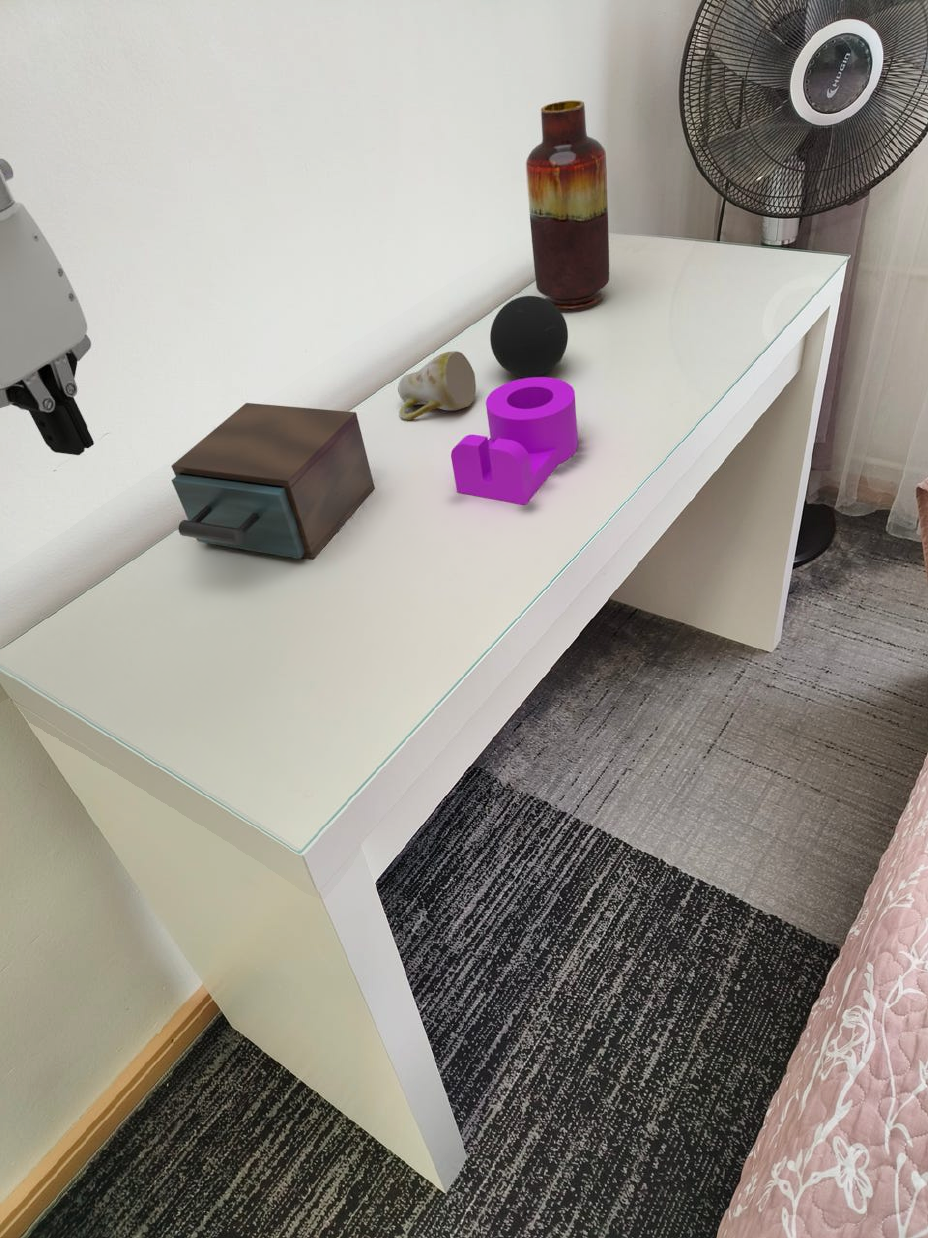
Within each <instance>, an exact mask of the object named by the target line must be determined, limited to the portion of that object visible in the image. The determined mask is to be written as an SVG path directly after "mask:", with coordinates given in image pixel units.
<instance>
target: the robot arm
mask: <svg viewBox="0 0 928 1238" xmlns="http://www.w3.org/2000/svg"><path fill="white" fill-rule="evenodd" d="M13 178H14V170H13V168H12V166H11V165H10V163H9V162H8V161H7V160H6V159H4V158H0V409H2V408H6V407H8V406H10V405H11V406H14V407H16V408H18V409H20V410H22V411H28V412H29V415H30V416H31V418H32V420H33V422H34V424H35V426H36V428H37V430H38V431H39V433H40V436H41V437H42V439H43V441H44V443H45V444H46V445H47V447H49V448H50V450H51V451H52V452H54V453H57V454H64V455H71V456H72V455H73V456H80V455H82V454H83V453H84V452H85V449H89V448H91V447H93V446H94V444H95V442H94V440H93V437H92V436H91V435H92V434H91V433H90V431H89V429H88V425H87V422H86V420H85V418H84V416H83V414H82V412H81V409H80V408H79V406H78V404H77V402H76V400H75V398H74V397H76V395H77V394H78V386H77V383H76V380H75V378H76V372H77V366H78V362H80V361H81V360H82V359H83V357H84V356H85V355H86V354H87V353H88V352H89V351H90V350H91V348H92V342H91V339H90V338H89V336H88V335H87V332H88V324H87V319H86V316H85V314H84V311H83V308H82V306H81V303H80V300H79V299H78V297H77V294H76V292H75V290H74V288H73V286H72V283H71V282H70V280H69V277H68V275H67V274H66V272H65V270H64V268H63V266H62V264H61V263H60V261H59V259H58V257H57V255H56V254H55V251H54V250H53V248H52V246H51V245H50V243H49V241H48V239H46V236H45V235H44V233H43V232H42V230H41V228H40V227H39V226H38V224H37V222H36V221H35V219H34V218H33V217H32V215H31V213H30V212H29V211H28V209H27V208H26V207H25V205H24V204H23V203H21V202H16V200H15V198H14V196H13V194H12V192H11V189H10V187H9V185H8V183H7V182H8V181H10V180H12V179H13Z"/></svg>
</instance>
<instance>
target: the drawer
mask: <svg viewBox="0 0 928 1238" xmlns="http://www.w3.org/2000/svg"><path fill="white" fill-rule="evenodd" d="M235 481H236V480H230V479H222V478H215V477H207V476H199V475H195V477H194V476H187V475H177V476H174V478H172V479H171V483H172V485H173V489H174V490H175V492H176V495H177V497H178V499H179V501H180V503H181V507H182V508H183V511H184V513H185V516H186V518H187V519H183V520H181V521H180V523H179V524H178V529H177V530H178V533H179V535H180V536H182V537H188V538H194V539H196V542H199V543H204V544H210V545H215V546H223V547H229V548H234V549H239V550H240V549H241V550H245V551H251V552H256V553H262V554H263V553H264V554H270V555H275V556H282V557H286V558H292V559H297V560H298V559H299V560H300V559H301V558H302V556H303V555H304V554H305V553H306V551H305V548H304V545H303V542H302V539H301V536H300V533H299V530H298V527H297V524H296V521H295V518H294V515H293V512H292V509H291V505H290V502H289V499H288V496H287V493H286V490H285V488H284V486H283V488H278V487H270V486H263V485H255V484H248V483H240V482H235Z"/></svg>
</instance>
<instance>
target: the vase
mask: <svg viewBox="0 0 928 1238" xmlns="http://www.w3.org/2000/svg"><path fill="white" fill-rule="evenodd" d="M585 108H586V107H585V102H584V101H582V100H563V101H562V100H561V101H558V102H557V101H556V102H552V103H549V104H547V105H546V104H545V105H544V106H542V107H541V109H540V123H541V124H540V125H541V142H540V143H539V144H537V145H536V146H534V148H533V149H532V150H531V151H530V153H529V154H528V156H527V158H526V160H525V173H526V186H527V187H526V188H527V198H528V199H527V200H528V211H529V212H528V213H529V222H530V223H529V225H530V234H531V235H530V236H531V245H532V246H531V247H532V257H533V267H534V278H535V285H536V290H537V291H538V292H539V293H540V294H541V295H544V296H545V297H544V299H546V300H548V301H550V302H551V303H553V304H554V305H555V306H556V307H557V308H558V309H559V310H560V312H561V313H577V312H582V311H586V310H590V309H592V308H595V307H597V306H599V305H600V304H601V303H602V302H603V300H604V292H603V289H604V288H605V287H606V286H607V285H608V283H609V282H610V243H609V242H610V241H609V239H610V238H609V237H610V236H609V203H608V170H607V153H606V149H605V148H604V146H603V144H601V143H600V142H599V141H598V140H597V139H596V138H593V137H591V136H588V135H587V134H588V133H587V125H586V124H587V122H586V110H585Z"/></svg>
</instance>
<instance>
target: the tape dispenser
mask: <svg viewBox="0 0 928 1238" xmlns="http://www.w3.org/2000/svg"><path fill="white" fill-rule="evenodd" d="M576 405H577V404H576V392H575V389H574V387H573V386H572V385H571V384H569V383H568V382H567V381H564V380H562V379H558V378H556V377H555V378H554V377H547V376H536V377H523V378H519V379H514V380H511V381H508V382H506V383H504V384H501V385H500V386H498V387H496V388H495V389H494V390H492V391H491V392H490V393H489V394H488V395H487V398H486V400H485V406H486V415H487V421H488V430H489V436H490V438H489V437H488V436H486V435H479V434H467V435H465V436H464V437H463V438H462V439H461V440H460V441H458V443H457V444H456V445H455V446H454V447H453V448H452V450H451V453H450V459H451V466H452V471H453V476H454V482H455V488H456V492H457V493H460V494H465V495H469V496H470V495H471V496H475V497H481V498H486V499H492V500H497V501H502V502H506V503H512V504H517V505H522V506H526V504H527V503H528V502H530V500H531V499H532V498H533V496H534V495H535V494H536V492H537V491H538V490H539V489H540V487H542V485H543V484H544V483H545V481H546V480H547V479H548V478H549V477H550V475H551V474H552V473H553V471H554V470H555V469H556V468H557V467H558V465H559V464H562V463H564V462H565V461H567V460H569V459H570V458H571V457H573V455H574V454H575V453H576V451H577V449H578V445H579V444H578V443H579V440H578V424H577V423H578V422H577V406H576Z"/></svg>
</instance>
